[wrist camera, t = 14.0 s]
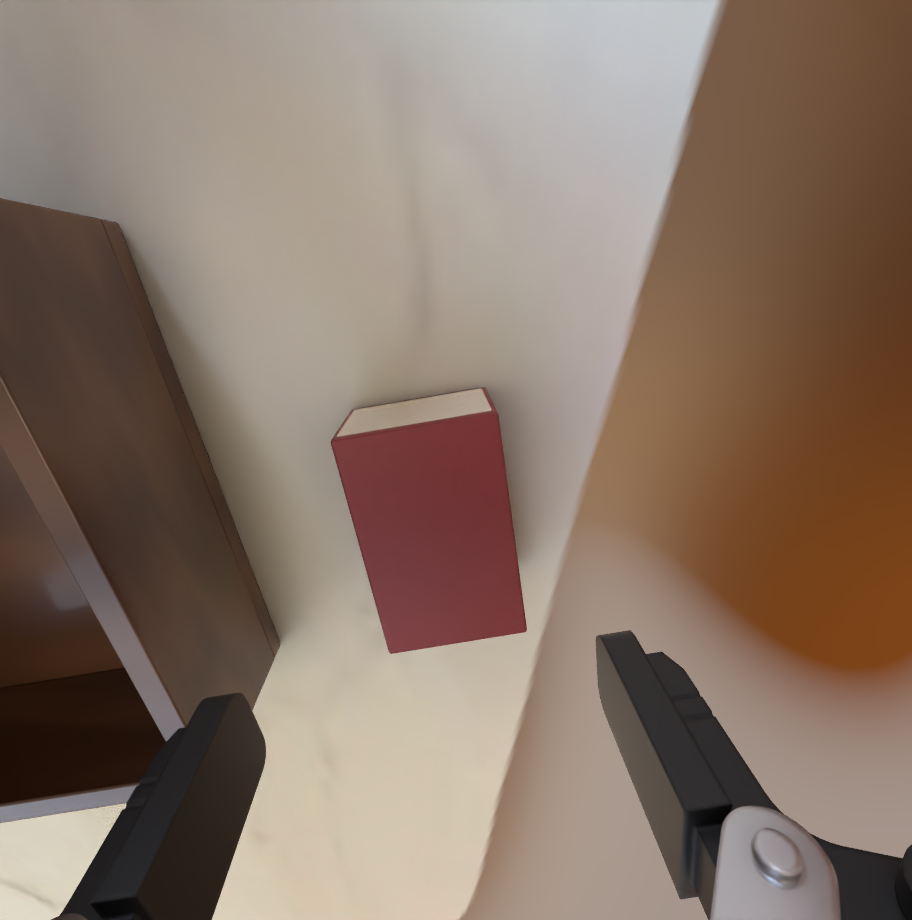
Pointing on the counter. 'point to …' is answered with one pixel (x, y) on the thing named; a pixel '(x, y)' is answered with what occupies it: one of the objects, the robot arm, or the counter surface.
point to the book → (433, 518)
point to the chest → (103, 529)
